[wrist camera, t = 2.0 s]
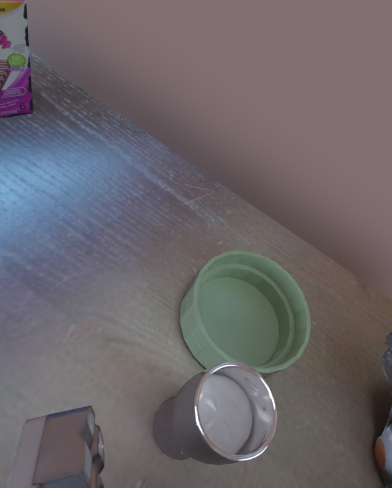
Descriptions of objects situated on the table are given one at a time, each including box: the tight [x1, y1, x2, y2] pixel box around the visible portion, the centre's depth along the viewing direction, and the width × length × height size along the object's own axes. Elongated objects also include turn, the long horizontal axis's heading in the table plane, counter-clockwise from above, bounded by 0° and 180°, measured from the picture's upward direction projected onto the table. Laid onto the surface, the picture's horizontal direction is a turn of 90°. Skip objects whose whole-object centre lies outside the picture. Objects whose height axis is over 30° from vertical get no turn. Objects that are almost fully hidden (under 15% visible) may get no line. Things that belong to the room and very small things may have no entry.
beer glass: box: [153, 362, 278, 465], centre depth 31 cm, size 7×7×15 cm
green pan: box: [180, 250, 311, 378], centre depth 43 cm, size 15×15×6 cm
